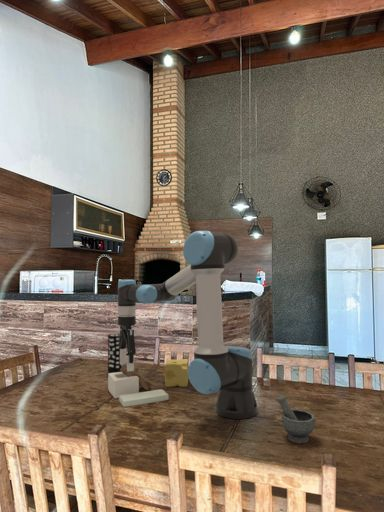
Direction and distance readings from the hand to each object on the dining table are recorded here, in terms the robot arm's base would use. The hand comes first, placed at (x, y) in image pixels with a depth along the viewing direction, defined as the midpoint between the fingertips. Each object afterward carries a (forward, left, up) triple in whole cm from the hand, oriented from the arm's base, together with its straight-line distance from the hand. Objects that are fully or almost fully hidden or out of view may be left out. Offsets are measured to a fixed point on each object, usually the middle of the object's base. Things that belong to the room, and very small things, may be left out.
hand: (126, 367), depth 155 cm
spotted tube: (+24, -2, -10) cm, 27 cm away
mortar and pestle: (-65, -36, -10) cm, 74 cm away
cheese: (+1, -24, -11) cm, 26 cm away
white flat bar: (-13, -4, -10) cm, 17 cm away
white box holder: (0, +1, -10) cm, 10 cm away
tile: (0, -3, -6) cm, 6 cm away
